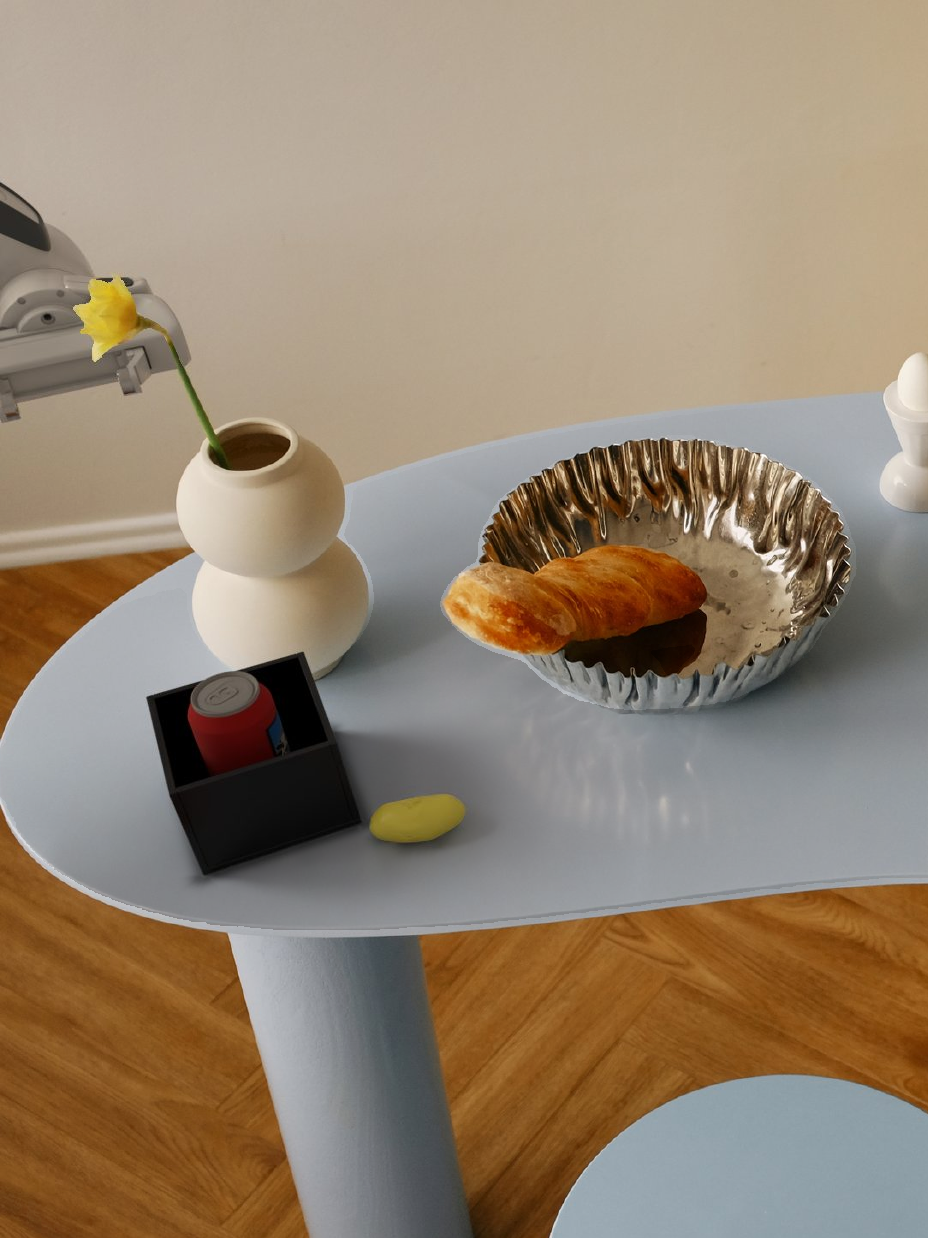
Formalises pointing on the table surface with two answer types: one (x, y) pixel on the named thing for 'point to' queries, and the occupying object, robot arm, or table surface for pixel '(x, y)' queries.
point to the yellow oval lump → (417, 818)
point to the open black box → (257, 775)
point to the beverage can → (235, 722)
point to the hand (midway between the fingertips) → (70, 400)
